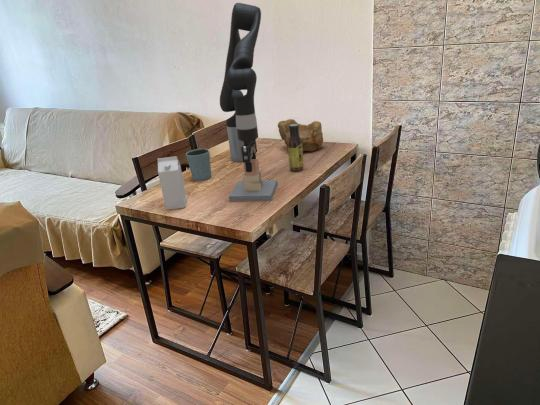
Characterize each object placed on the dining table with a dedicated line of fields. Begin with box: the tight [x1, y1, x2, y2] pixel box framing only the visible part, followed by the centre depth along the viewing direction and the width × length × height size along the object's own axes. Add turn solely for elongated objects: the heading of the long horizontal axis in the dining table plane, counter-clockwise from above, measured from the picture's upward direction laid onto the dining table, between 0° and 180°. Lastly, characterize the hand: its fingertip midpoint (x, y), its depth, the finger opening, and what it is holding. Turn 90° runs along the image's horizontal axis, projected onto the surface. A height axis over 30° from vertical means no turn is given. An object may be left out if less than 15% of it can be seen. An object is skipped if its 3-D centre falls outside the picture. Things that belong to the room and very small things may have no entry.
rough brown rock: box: [277, 118, 324, 154], centre depth 201 cm, size 23×17×15 cm
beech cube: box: [242, 170, 263, 191], centre depth 155 cm, size 6×6×6 cm
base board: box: [228, 179, 279, 202], centre depth 157 cm, size 16×16×2 cm
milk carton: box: [157, 156, 188, 211], centre depth 149 cm, size 7×7×19 cm
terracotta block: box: [243, 158, 260, 176], centre depth 153 cm, size 5×5×5 cm
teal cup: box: [185, 148, 212, 182], centre depth 177 cm, size 10×10×12 cm
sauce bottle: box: [287, 123, 304, 172], centre depth 174 cm, size 6×6×20 cm
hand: (251, 168), depth 153 cm, fingers open, 8 cm apart
